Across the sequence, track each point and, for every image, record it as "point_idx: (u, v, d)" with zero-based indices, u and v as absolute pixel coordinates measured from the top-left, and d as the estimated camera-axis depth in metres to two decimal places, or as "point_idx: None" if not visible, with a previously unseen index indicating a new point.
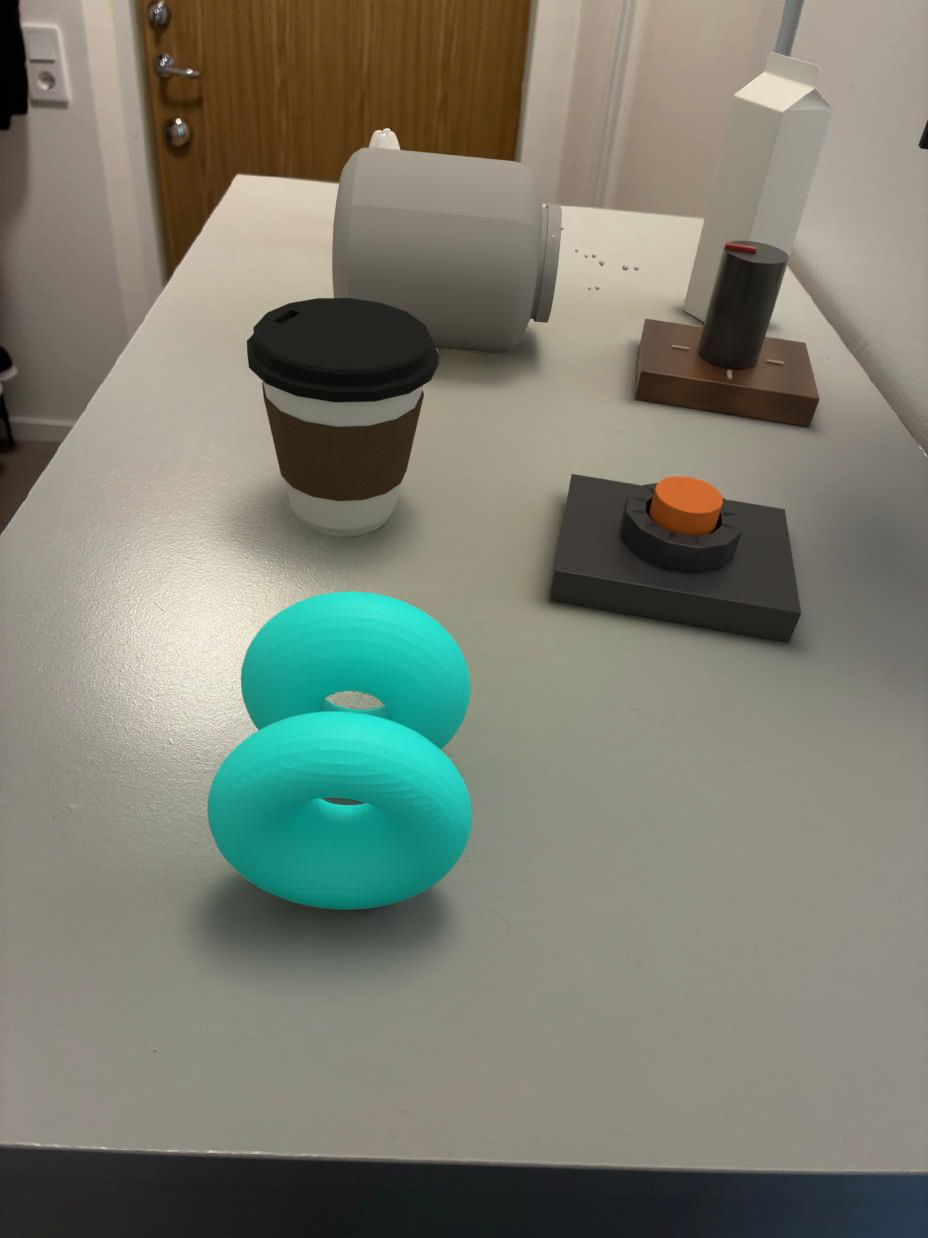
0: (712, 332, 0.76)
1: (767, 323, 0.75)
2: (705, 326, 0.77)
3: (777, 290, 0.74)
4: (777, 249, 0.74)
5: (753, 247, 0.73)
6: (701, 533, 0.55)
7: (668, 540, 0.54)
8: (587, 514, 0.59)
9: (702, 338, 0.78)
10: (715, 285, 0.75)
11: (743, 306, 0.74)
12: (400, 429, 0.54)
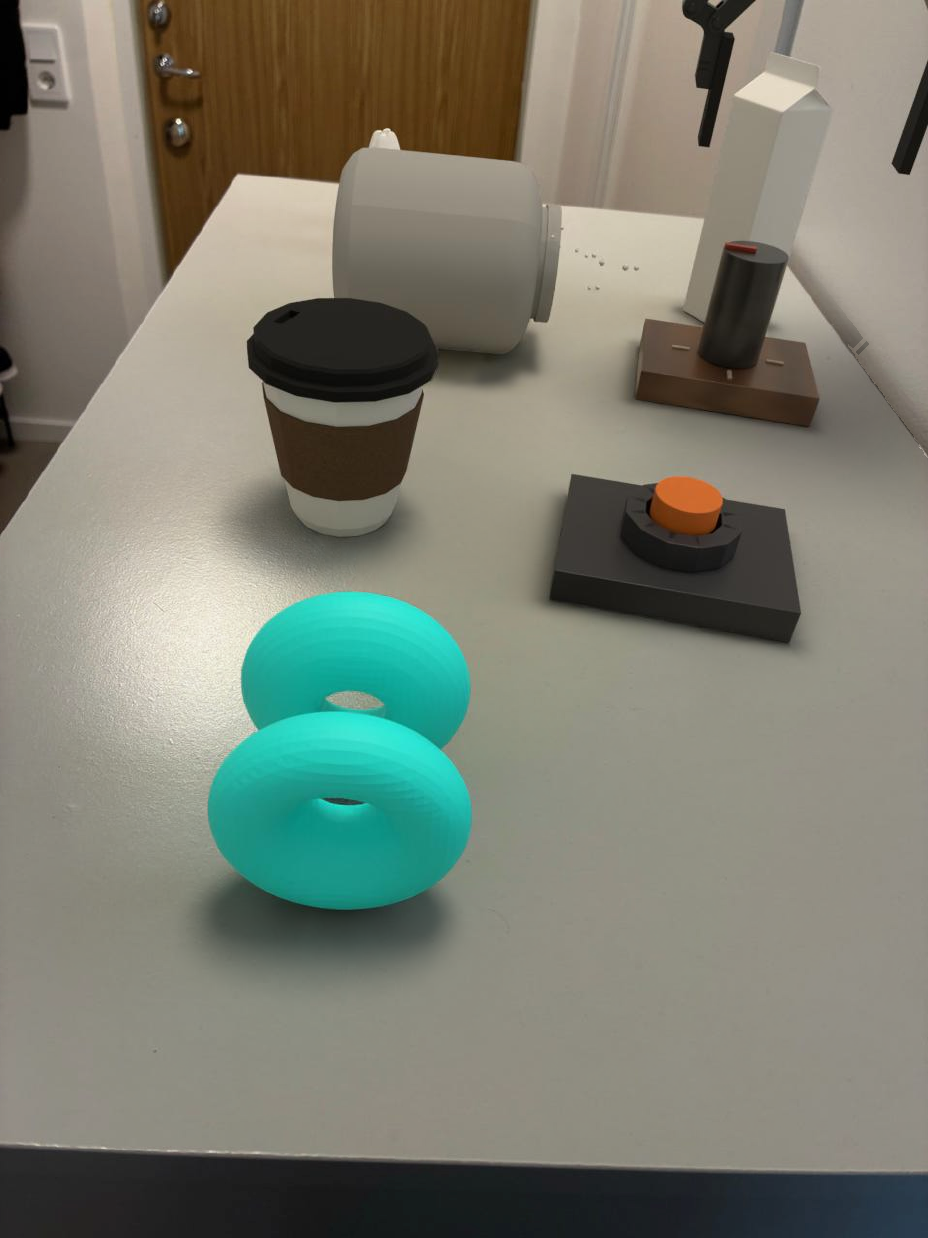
0: (712, 332, 0.76)
1: (767, 323, 0.75)
2: (705, 326, 0.77)
3: (777, 290, 0.74)
4: (777, 249, 0.74)
5: (753, 247, 0.73)
6: (701, 533, 0.55)
7: (668, 540, 0.54)
8: (587, 514, 0.59)
9: (702, 338, 0.78)
10: (715, 285, 0.75)
11: (743, 306, 0.74)
12: (400, 429, 0.54)
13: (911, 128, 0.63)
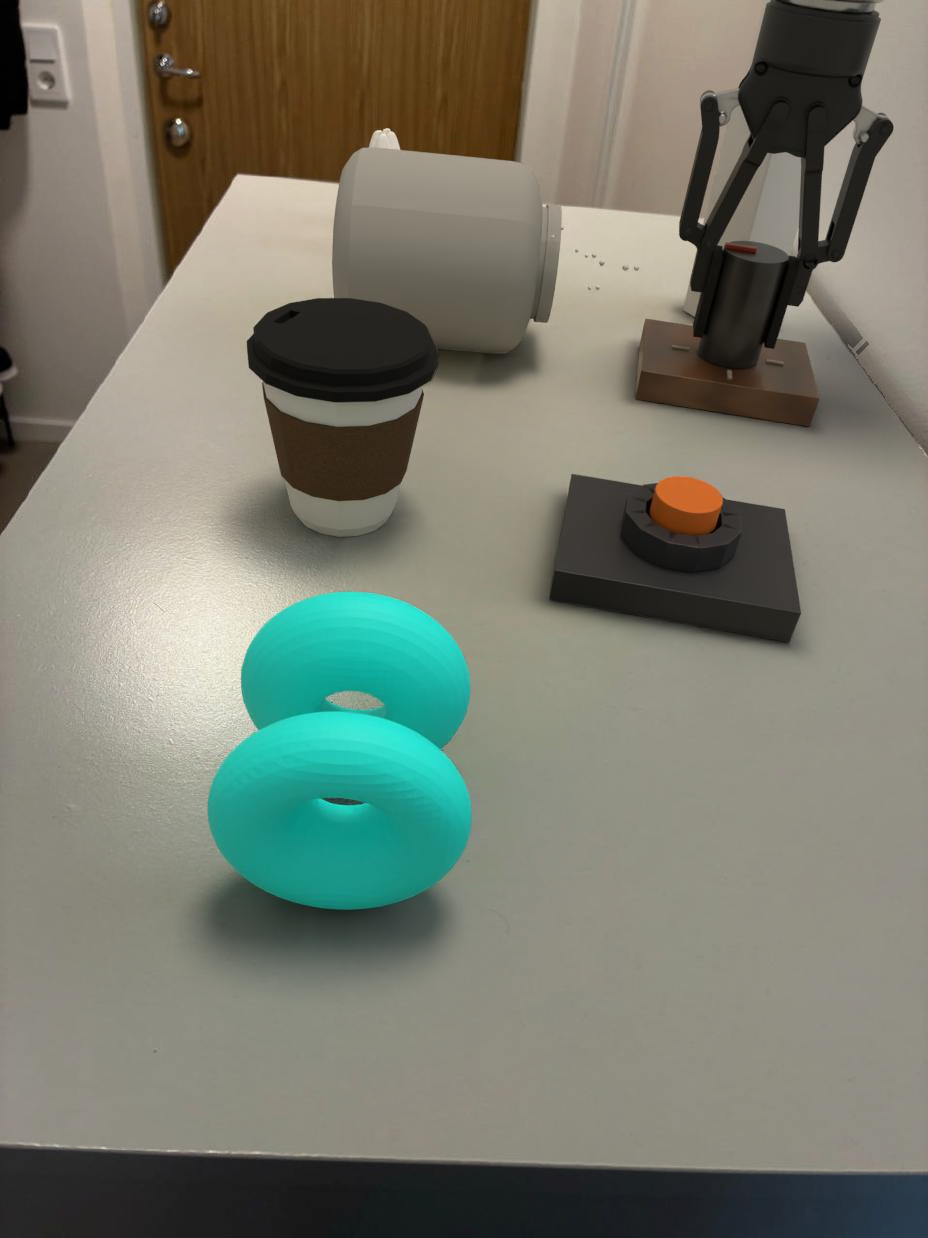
0: (712, 332, 0.76)
1: (767, 323, 0.75)
2: None
3: (777, 290, 0.74)
4: (777, 249, 0.74)
5: (753, 247, 0.73)
6: (701, 533, 0.55)
7: (668, 540, 0.54)
8: (587, 514, 0.59)
9: (702, 338, 0.78)
10: None
11: (743, 306, 0.74)
12: (400, 429, 0.54)
13: (773, 312, 0.75)
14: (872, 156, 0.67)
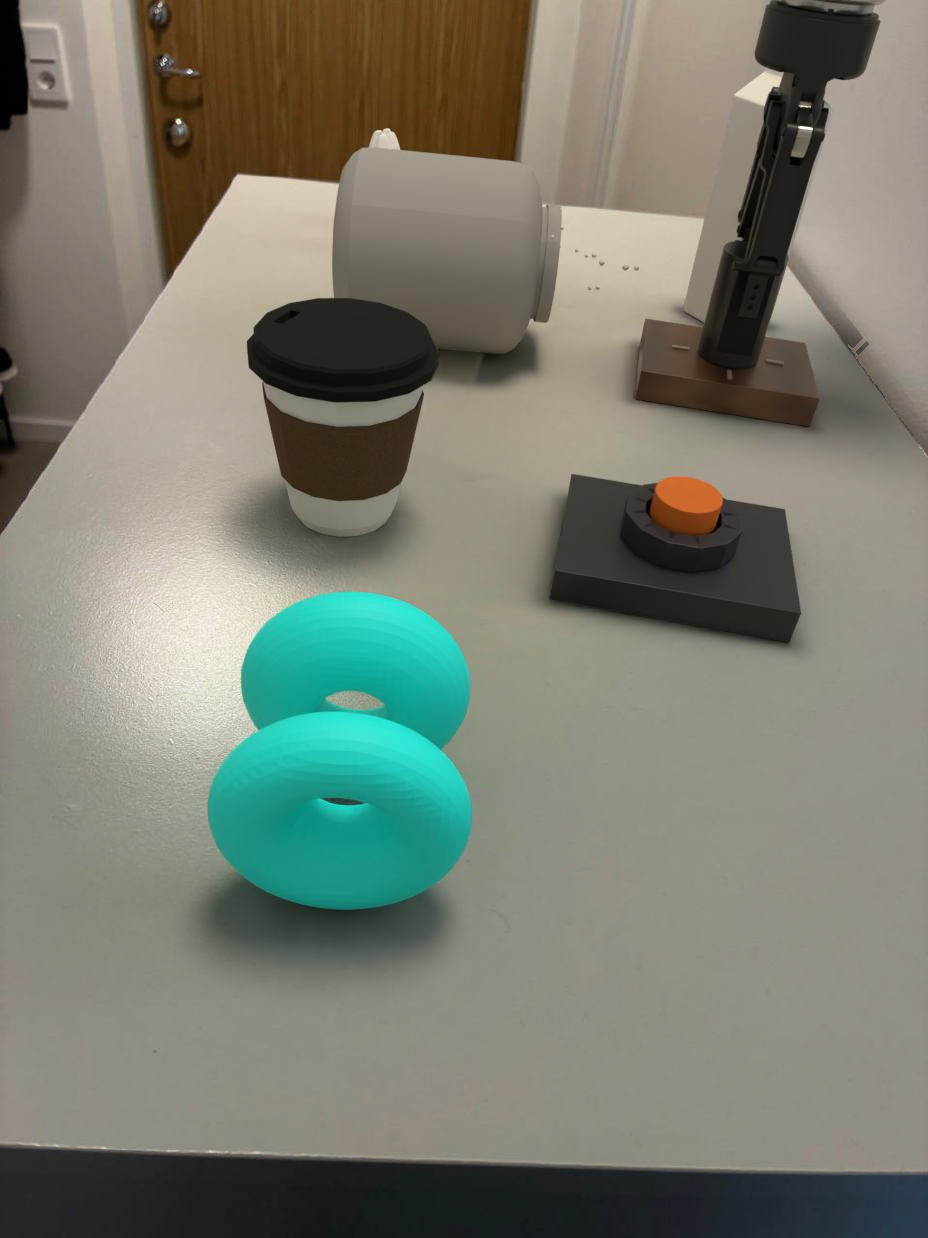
0: (757, 340, 0.76)
1: None
2: None
3: None
4: (738, 242, 0.75)
5: None
6: (701, 533, 0.55)
7: (668, 540, 0.54)
8: (587, 514, 0.59)
9: None
10: None
11: (775, 300, 0.75)
12: (400, 429, 0.54)
13: None
14: None
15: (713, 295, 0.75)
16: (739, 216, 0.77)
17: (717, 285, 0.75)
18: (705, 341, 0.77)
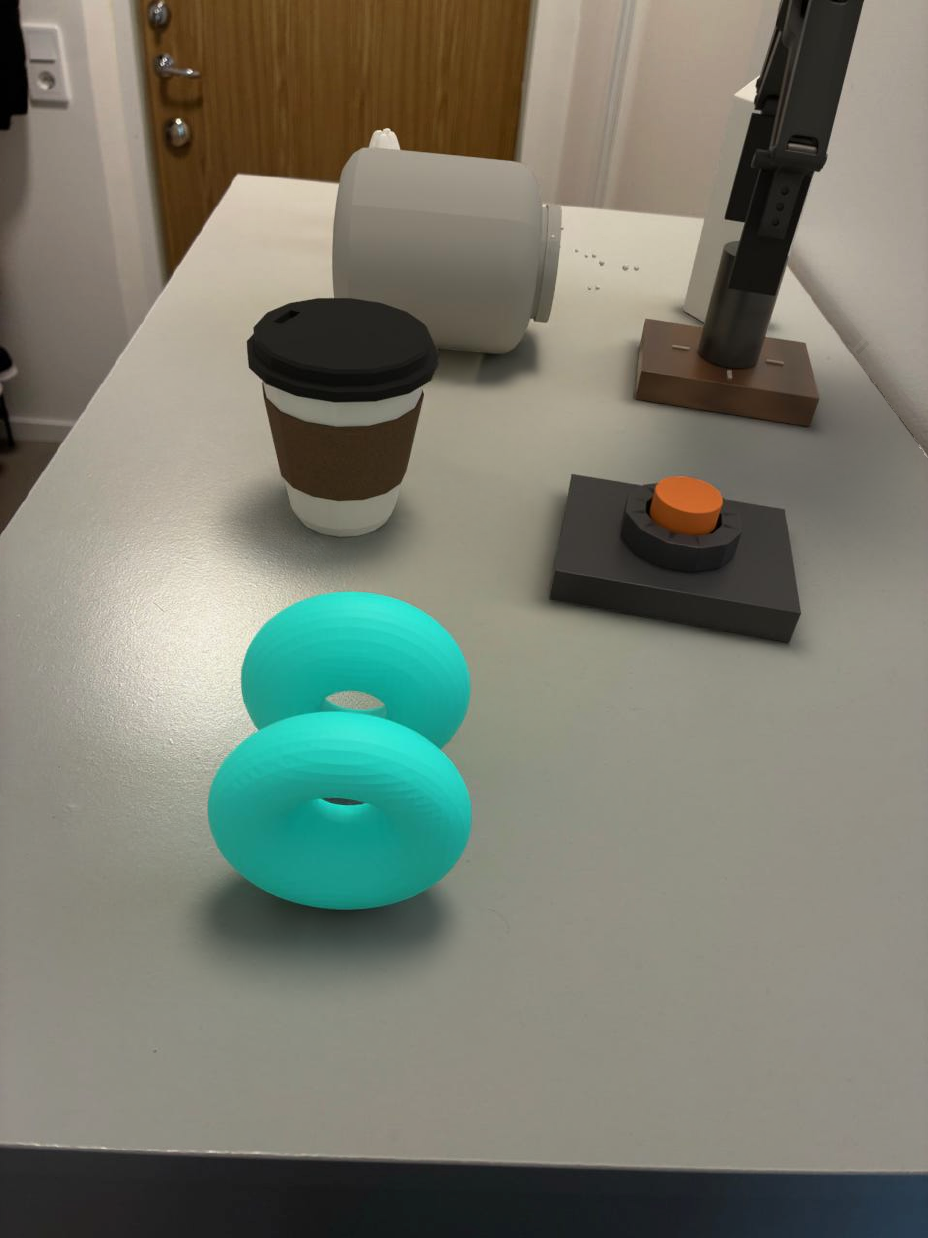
0: (757, 340, 0.76)
1: None
2: (743, 341, 0.75)
3: None
4: (738, 242, 0.75)
5: None
6: (701, 533, 0.55)
7: (668, 540, 0.54)
8: (587, 514, 0.59)
9: (741, 353, 0.76)
10: (753, 300, 0.73)
11: (775, 300, 0.75)
12: (400, 429, 0.54)
13: None
14: None
15: (713, 295, 0.75)
16: (757, 87, 0.62)
17: (717, 285, 0.75)
18: (705, 341, 0.77)
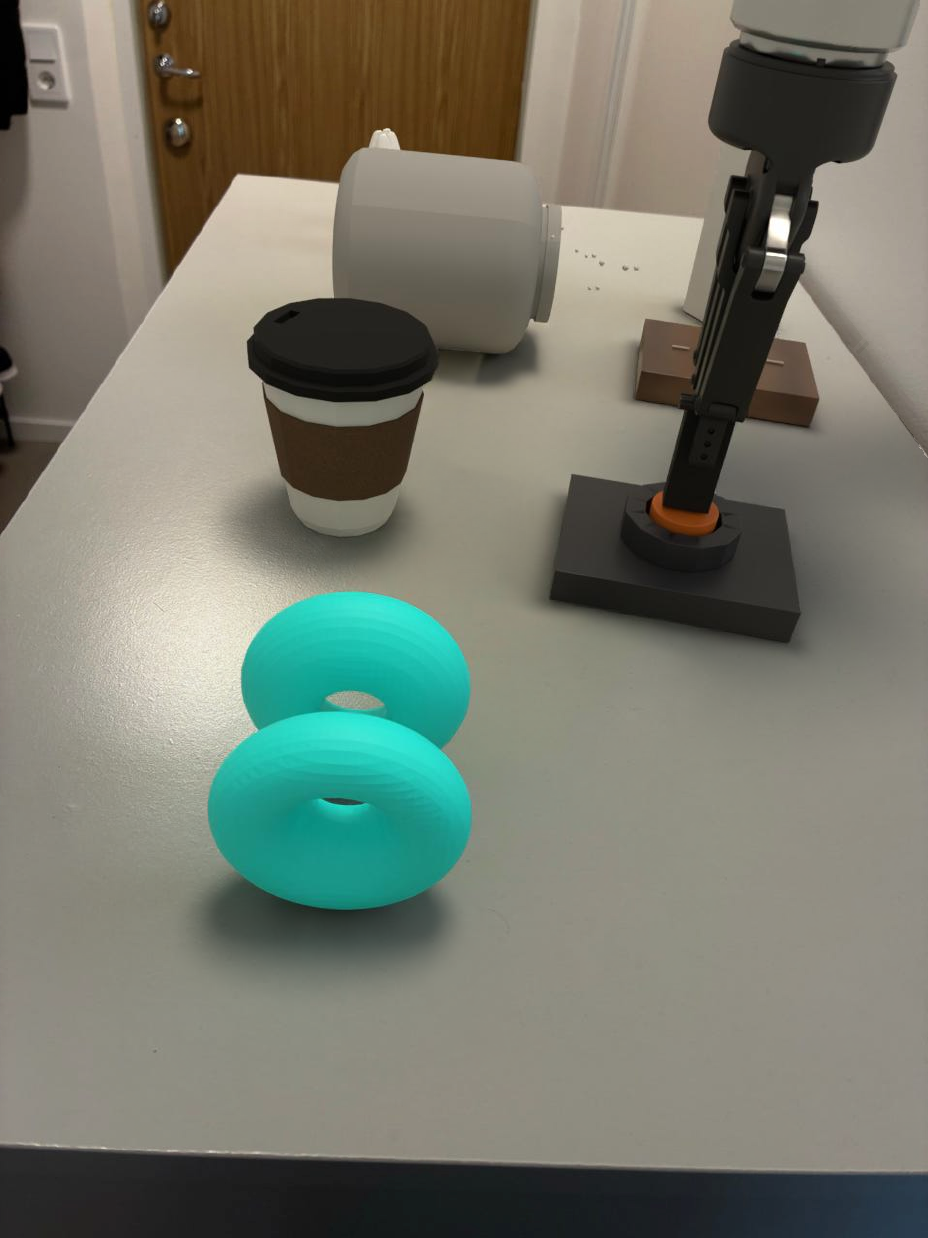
0: None
1: None
2: None
3: None
4: None
5: None
6: None
7: (668, 540, 0.54)
8: (587, 514, 0.59)
9: None
10: None
11: None
12: (400, 429, 0.54)
13: None
14: None
15: None
16: (695, 357, 0.54)
17: None
18: None
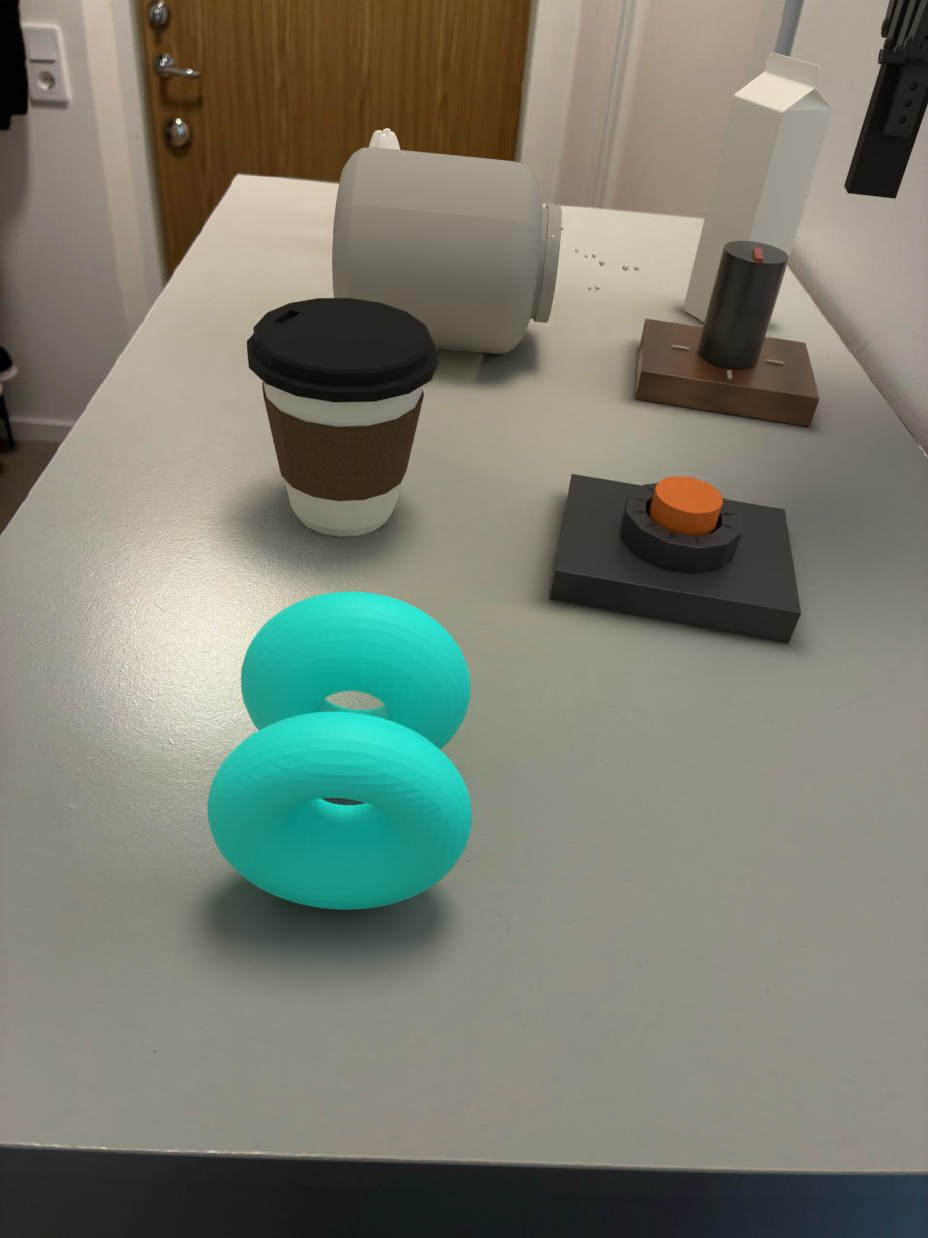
0: (757, 340, 0.76)
1: None
2: (743, 341, 0.75)
3: None
4: (738, 242, 0.75)
5: (758, 249, 0.73)
6: (701, 533, 0.55)
7: (668, 540, 0.54)
8: (587, 514, 0.59)
9: (741, 353, 0.76)
10: (753, 300, 0.73)
11: (775, 300, 0.75)
12: (400, 429, 0.54)
13: None
14: None
15: (713, 295, 0.75)
16: (885, 25, 0.52)
17: (717, 285, 0.75)
18: (705, 341, 0.77)
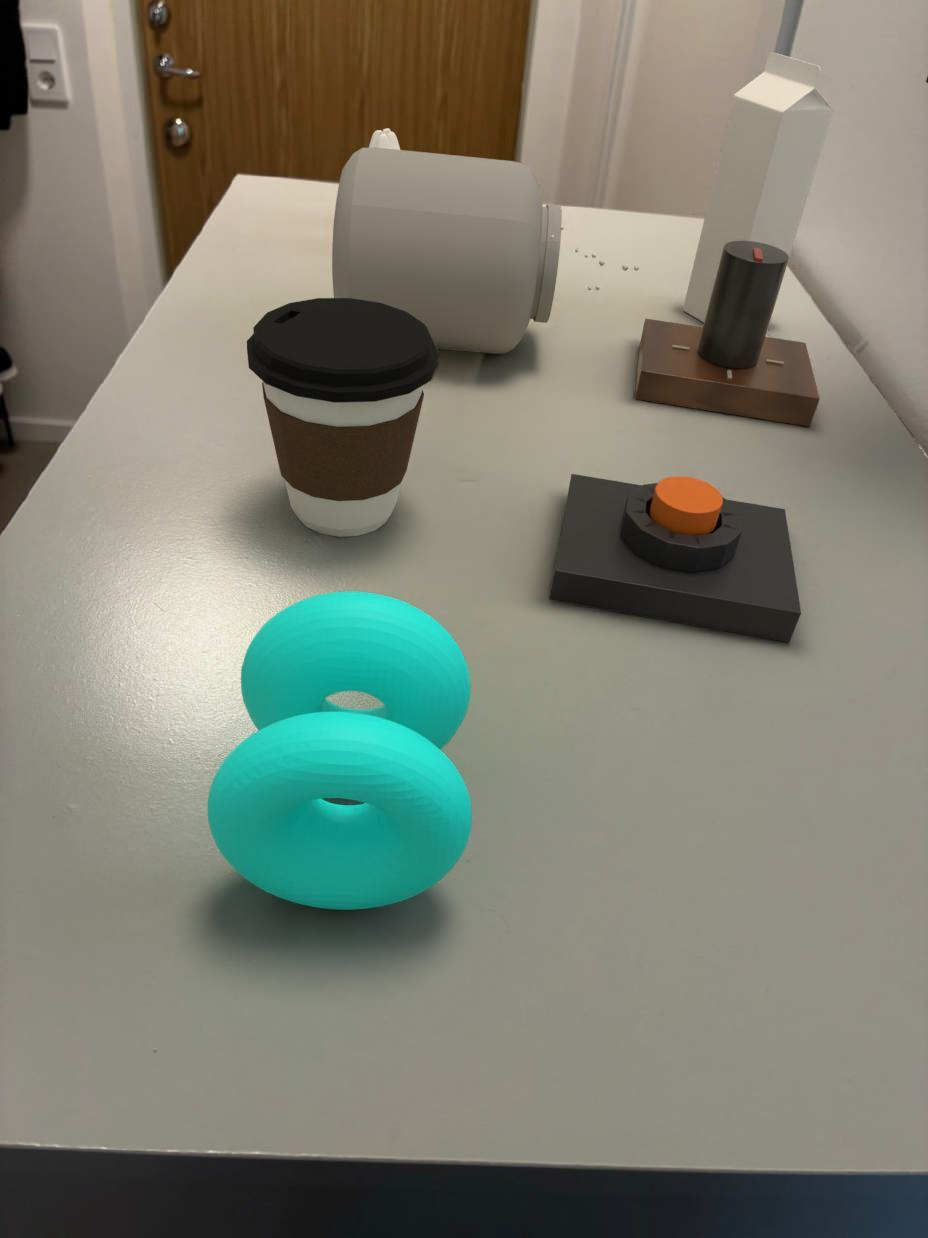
0: (757, 340, 0.76)
1: None
2: (743, 341, 0.75)
3: None
4: (738, 242, 0.75)
5: (758, 249, 0.73)
6: (701, 533, 0.55)
7: (668, 540, 0.54)
8: (587, 514, 0.59)
9: (741, 353, 0.76)
10: (753, 300, 0.73)
11: (775, 300, 0.75)
12: (400, 429, 0.54)
13: None
14: None
15: (713, 295, 0.75)
16: None
17: (717, 285, 0.75)
18: (705, 341, 0.77)
